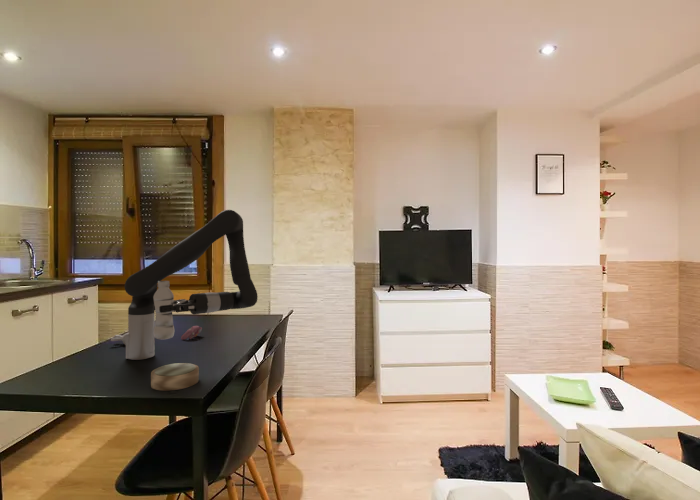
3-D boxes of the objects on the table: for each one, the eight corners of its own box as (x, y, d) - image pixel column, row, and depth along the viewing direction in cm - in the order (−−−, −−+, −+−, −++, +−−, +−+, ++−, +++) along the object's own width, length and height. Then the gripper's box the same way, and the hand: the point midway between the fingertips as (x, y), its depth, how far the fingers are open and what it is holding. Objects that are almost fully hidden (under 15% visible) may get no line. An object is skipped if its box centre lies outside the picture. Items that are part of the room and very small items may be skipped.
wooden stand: (142, 390, 118) (142, 375, 118) (162, 375, 132) (162, 362, 132) (189, 390, 118) (189, 375, 118) (204, 375, 132) (204, 362, 132)
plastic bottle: (161, 342, 130) (160, 282, 130) (149, 339, 134) (148, 281, 133) (178, 338, 136) (178, 281, 135) (166, 336, 139) (166, 280, 139)
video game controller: (187, 343, 182) (193, 330, 181) (179, 338, 182) (185, 325, 182) (199, 338, 191) (205, 326, 191) (191, 334, 192) (197, 321, 192)
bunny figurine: (148, 336, 172) (110, 334, 168) (147, 348, 172) (108, 346, 168) (152, 332, 181) (116, 330, 177) (151, 343, 181) (115, 341, 177)
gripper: (197, 291, 149) (149, 295, 138) (213, 294, 139) (163, 299, 127) (197, 310, 149) (150, 316, 138) (213, 315, 139) (163, 322, 128)
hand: (156, 308), depth 133 cm, fingers closed on plastic bottle, 6 cm apart
